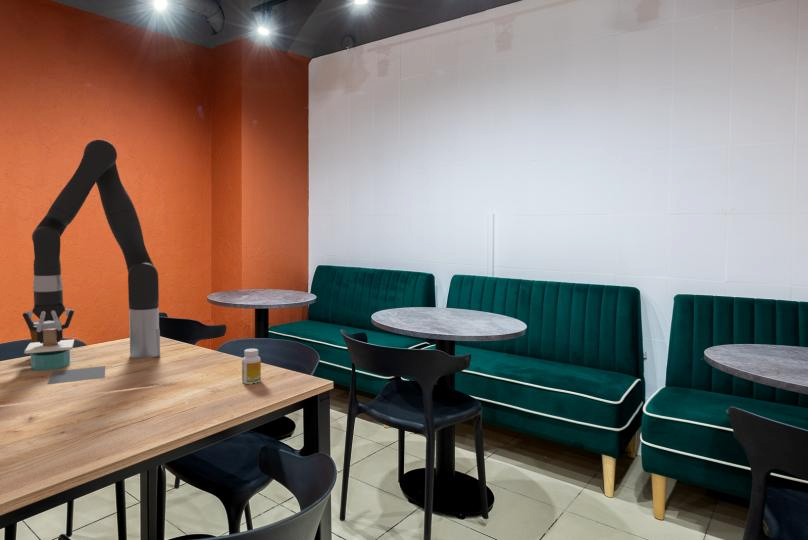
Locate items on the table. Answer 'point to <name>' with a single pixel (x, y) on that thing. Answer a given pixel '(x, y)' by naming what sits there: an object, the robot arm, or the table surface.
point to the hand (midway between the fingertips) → (50, 341)
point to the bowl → (50, 360)
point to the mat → (77, 375)
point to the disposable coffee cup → (46, 325)
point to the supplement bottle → (251, 367)
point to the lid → (49, 343)
